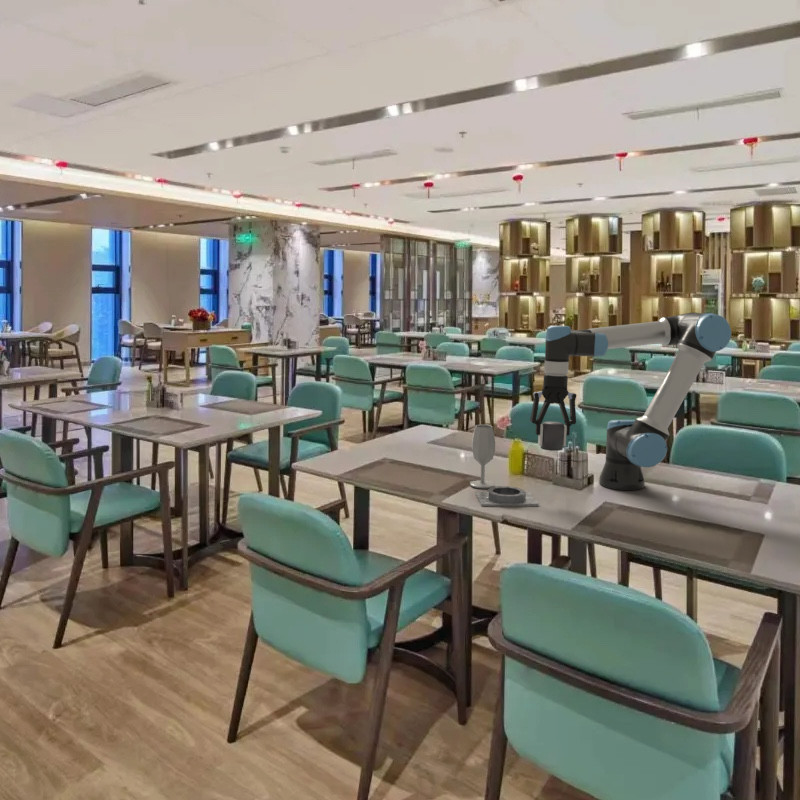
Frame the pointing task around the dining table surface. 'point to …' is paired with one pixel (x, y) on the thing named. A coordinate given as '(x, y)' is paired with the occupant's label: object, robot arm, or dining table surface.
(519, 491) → the gray tray with ring
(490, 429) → the wineglass
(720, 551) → the dining table surface
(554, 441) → the dark grey cylinder
